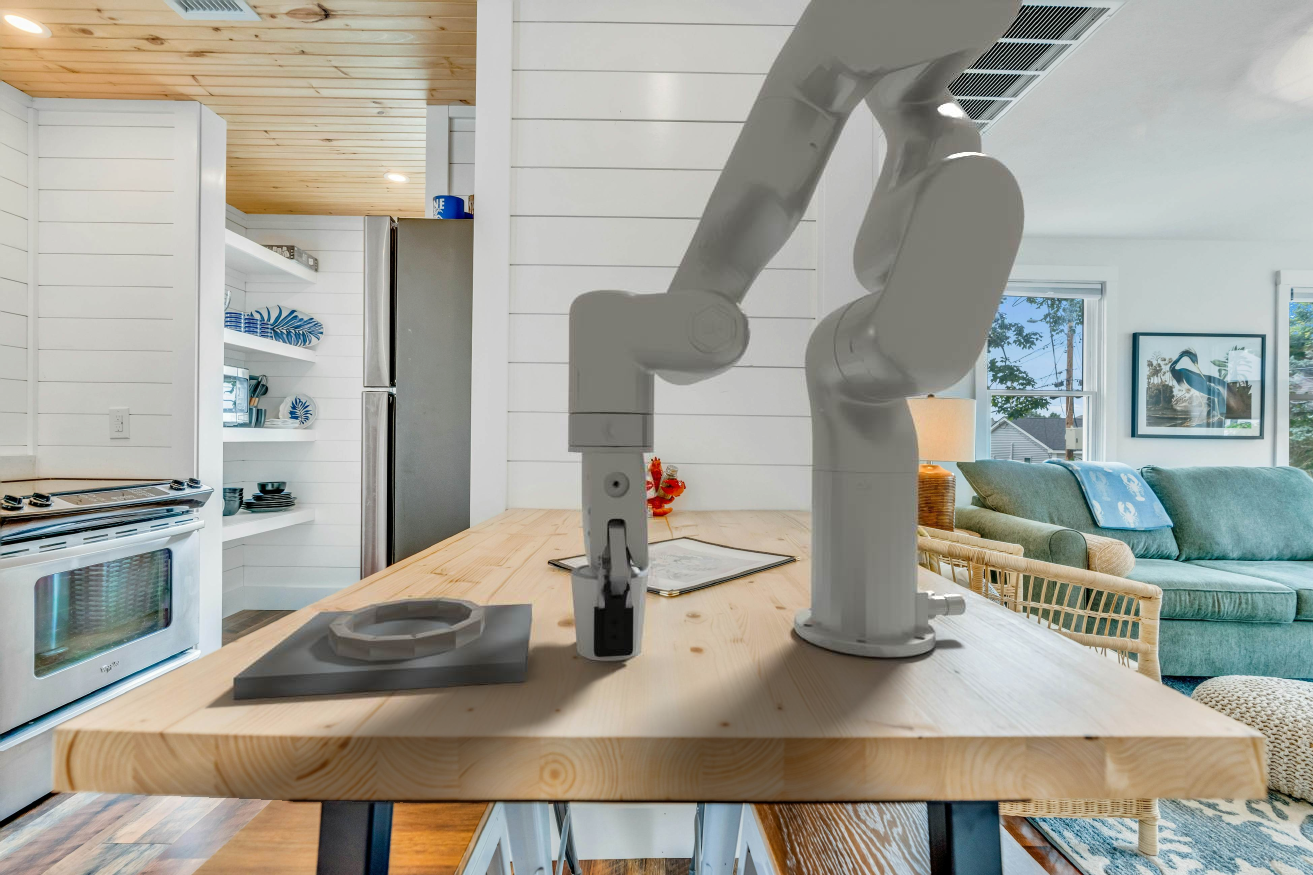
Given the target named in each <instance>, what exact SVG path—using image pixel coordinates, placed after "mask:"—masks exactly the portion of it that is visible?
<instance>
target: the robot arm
mask: <svg viewBox="0 0 1313 875" xmlns="http://www.w3.org/2000/svg"><path fill="white" fill-rule="evenodd" d="M1022 4H1023V0H810V1H809V3H808V4H807V6H806V7H805V9H804V10H803V12H802V13H801V15H800V18H799V19H798V21H797V22H796V24H795V26H794V28H793V29H792V31H791V33H790V34H789V36H788V38H787V39H786V41H785V43H784V44H783V46H782V47H781V49H780V51H779V52H778V53H777V55H776V58H775V59H774V61H773V63H772V64H771V67H770V69H769V71H768V73H767V75H766V77H765V79H764V81H763V83H762V86H761V88H760V89H759V92H758V94H757V96H756V99H755V101H754V102H753V104H752V107H751V109H750V111H749V113H748V116H747V118H746V120H745V122H744V124H743V127H742V128H741V131H740V133H739V135H738V136H737V139H736V141H735V144H734V145H733V147H732V150H731V152H730V154H729V157H728V158H727V160H726V162H725V164H724V166H723V169H722V171H721V173H720V175H719V177H718V179H717V181H716V184H715V186H714V188H713V189H712V192H711V194H710V196H709V198H708V201H707V202H706V206H705V208H704V210H703V212H702V215H701V217H700V220H699V222H698V223H697V224H698V225H697V227H696V229H695V232H694V234H693V236H692V238H691V240H690V243H689V244H688V247H687V248H686V251H685V252H684V255H683V258H682V259H681V261H680V264H679V266H678V267H677V270H676V271H675V274H674V276H673V277H672V280H671V282H670V284H669V286H668V288H667V291H665V292H657V293H656V292H655V293H645V294H644V293H643V294H642V293H641V294H640V293H637V292H633V291H628V290H620V289H602V290H601V289H599V290H591V291H587V292H584V293H581V294H579V295H578V296H576V297H575V298H574V299H573V301H572V302H571V305H570V308H569V313H568V314H569V315H568V397H567V399H568V400H567V401H568V404H567V405H568V406H567V409H568V411H567V412H568V414H567V415H568V416H567V417H568V425H567V426H568V427H567V428H568V429H567V445H568V446H567V452H568V453H576V454H577V453H578V454H579V453H581V514H582V515H581V518H582V519H581V520H582V535H583V545H584V552H585V557H586V561H587V565H589V567H590V569H592V570H593V571H594V572H596V573H597V604H598V606H597V607H594V654H595V656H597V657H610V656H628V655H631V654H632V652H633V605H632V587H631V564H634V565H635V567H637V568H638V569H639V570H640V571H645V570H646V569H648V568H649V564H650V560H649V559H650V557H649V554H650V553H649V529H648V528H649V524H648V523H649V522H648V521H649V520H648V494H647V493H648V492H647V491H648V489H647V475H646V474H647V472H646V464H645V456H644V454H652V453H654V452H655V451H654V450H655V447H654V446H655V375H657V377H659V378H660V379H662V380H663V381H665V382H666V383H669V384H671V385H676V386H690V385H693V384H697V383H699V382H702V381H706V380H710V379H712V378H715V377H718V376H719V375H722V374H724V373H726V372H728V371H729V370H730V369H732V368H733V367H734V366H736V365H737V364H738V363H739V362H740V360H741V359H742V358H743V356H744V355H745V353H746V351H747V349H748V347H749V344H750V343H749V342H750V339H751V325H750V320H749V317H748V315H747V313H746V311H745V309H744V308H743V307H742V305H741V304H742V303H743V300H744V298H745V297H746V295H747V294H748V292H749V290H750V289H751V287H752V285H753V284H754V282H755V281H756V279H758V277H759V275H760V274H761V272H762V271H763V270H764V269H765V268H766V266H767V265H768V264H769V263H770V261H771V260H773V258H774V257H775V256H776V255H777V254H778V252H780V250H781V249H782V248H783V247H784V245H786V243H787V241H788V240H789V239H790V238H791V236H792V235H793V233H794V232H795V231H796V229H797V227H798V225H799V224H800V222H802V219H803V217H804V215H805V214H806V212H807V209H808V207H809V205H810V203H811V201H812V198H813V195H814V194H815V192H816V189H817V187H818V184H819V182H820V180H821V178H822V176H823V173H824V171H825V169H826V166H827V165H828V162H829V160H830V158H831V155H832V154H833V152H834V150H835V147H836V145H837V143H838V141H839V138H840V137H841V135H842V132H843V130H844V128H845V125H846V124H847V122H848V120H849V118H850V116H851V115H852V113H853V112H854V110H855V109H856V107H857V106H859V104H860V103H861V102H862V101H863V100H864V101H865V104H866V105H867V108H868V110H870V112H871V114H872V115H873V117H874V118H875V120H876V121H877V123H878V124H879V126H880V129H881V130H882V132H883V134H884V136H885V139H886V146H887V147H886V153H885V157H884V162H883V164H882V167H881V171H880V174H879V177H878V180H877V182H876V186H875V187H874V191H873V192H872V195H871V198H870V201H869V203H868V206H867V209H866V212H865V215H864V217H863V218H862V219H863V220H862V222H861V225H860V227H859V229H858V232H857V235H856V239H855V243H854V246H853V252H852V265H853V271H854V273H855V277H856V279H857V281H858V282H859V284H860V285H861V286H862V288H863V289H864V290H866V291H867V292H869V294H867V295H864V296H861V297H859V298H857V299H855V300H853V301H850V302H848V303H845V304H843V305H842V306H839V307H838V308H836V309H834V310H833V311H831V312H830V313H829V314H828V315H826V316H825V317H824V318H822V320H820V322H819V323H818V324H817V325H816V327H815V328H814V329H813V331H812V333H811V334H810V337H809V339H808V342H807V345H806V350H805V354H804V373H805V381H806V388H807V394H808V400H809V406H810V409H809V410H810V415H811V416H810V417H811V436H812V438H811V439H812V443H811V445H812V447H811V448H812V450H811V451H812V460H811V461H812V463H811V464H812V466H811V467H812V469H811V528H810V529H811V532H810V533H811V541H810V543H811V544H810V545H811V546H810V547H811V548H810V549H811V552H810V555H811V556H810V607H808V608H804V609H802V610H800V611H799V612H797V613H796V614H795V616H794V618H793V622H794V625H793V626H794V627H793V628H794V630H795V632H796V634H797V635H799V636H800V637H801V638H802V639H804V640H805V641H807V642H809V643H811V644H814V645H816V646H818V647H821V648H824V649H827V650H829V651H830V650H831V651H835V652H838V653H843V654H849V655H855V656H861V657H872V658H904V657H905V658H907V657H913V656H917V655H922V654H924V653H927V652H929V651H931V650H932V649H933V648H934V647H935V646H936V643H937V641H936V639H937V638H936V637H937V636H936V632H937V631H936V630H935V629H934V627H933V626H932V625H931V624H929V620H930V621H931V620H934V619H935V618H936V617H937V616H939V615H940V616H945V617H946V616H947V617H949V616H962V615H964V614H965V613H966V610H967V609H966V608H967V605H966V602H965V599H964V598H963V596H962V595H960V594H958V593H956V594H954V593H953V594H939V595H935V593H934V591H932V590H927V591H926V590H924V589H922V588H919V587H918V586H919V584H918V583H919V582H918V581H919V580H918V574H919V573H918V572H919V571H918V570H919V568H918V567H919V566H918V565H919V563H918V562H919V560H918V558H919V548H918V547H919V546H918V545H919V472H920V454H919V453H920V450H919V442H918V440H919V439H918V433H917V429H916V425H915V421H914V419H913V415H912V413H911V409H910V406H909V403H908V400H907V398H914V397H921V396H927V395H932V394H936V393H939V392H942V391H945V390H947V389H950V388H951V387H953V386H955V385H956V384H958V383H959V382H960V381H962V380H963V379H964V378H965V377H966V376H967V375H969V373H970V371H971V370H972V369H973V368H974V366H975V364H976V363H977V361H978V360H979V358H980V356H981V354H982V352H983V349H984V347H985V345H986V342H987V340H988V338H989V335H990V332H991V329H992V327H993V323H994V320H995V318H996V316H997V313H998V312H997V311H998V310H999V306H1000V304H1001V301H1002V298H1003V295H1004V292H1005V289H1006V287H1007V283H1008V281H1009V278H1010V275H1011V272H1012V270H1013V266H1014V263H1015V260H1016V259H1017V254H1018V251H1019V249H1020V245H1021V242H1022V239H1023V238H1022V237H1023V233H1024V225H1025V207H1024V206H1025V205H1024V198H1023V195H1022V191H1021V188H1020V185H1019V183H1018V180H1017V179H1016V177H1015V176H1014V174H1013V172H1012V171H1011V170H1010V169H1009V168H1008V167H1007V165H1005V164H1004V163H1003V162H1002V161H1000V160H999V159H997V158H995V157H993V156H991V155H987V154H985V153H982V138H981V133H980V131H979V129H978V127H977V125H976V124H975V122H974V121H973V120H972V119H971V118H970V116H969V115H968V113H967V112H966V110H965V109H964V108H963V107H962V106H961V104H960V102H959V101H958V100H957V99H956V97H955V96H954V95H953V94H952V92H951V91H950V90H949V88H948V87H949V85H951V84H952V83H953V82H954V81H955V80H956V79H957V78H958V77H960V76H961V75H962V73H964V72H965V71H966V70H967V69H968V68H970V67H971V66H972V65H973V64H974V63H975V62H976V61H977V60H979V59H980V58H981V57H982V56H983V55H984V54H986V52H988V51H989V50H990V49H991V48H992V47H993V46H994V45H995V44H996V43H997V42H999V40H1001V38H1002V37H1003V36H1004V35H1005V34H1006V33H1007V32H1008V30H1009V29H1010V28H1011V26H1012V25H1013V23H1014V21H1015V20H1016V18H1017V17H1018V15H1019V12H1020V10H1021V7H1022ZM631 562H632V563H631ZM602 564H610V568H608V569H602ZM604 577H610V580H606V583H605V584H604Z"/></svg>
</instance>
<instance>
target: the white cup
mask: <svg viewBox="0 0 1313 875" xmlns="http://www.w3.org/2000/svg"><path fill="white" fill-rule="evenodd" d="M608 568H610V564H602V569H608ZM649 572H650V571H649V568H647V569H646V570H645V571H640V570H639V569H638V568H637V567H635V565H634V564H633V563H631V587H632V605H633V652H632V654H631V655H628V656H610V657H597V656H595V654H594V607H597V606H598V604H597V573H596V572H594V571H593V570H592V569H590V567H589V565H588V564H584V565H579V566H577V567H574V568H572V569H571V571H570V580H571V591H572V592H571V593H572V594H571V595H572V603H573V606H572V607H573V617H574V629H575V638H576V640H575V642H576V652H577V653H578V654H579V655H580V656H581V657H584V658H586V659H588V660H593V661H600V662H615V661H623V660H628V659H630V658H633V657H636V656H638V654H640V653H641V652H642V644H643V643H642V641H643V633H644V632H643V631H644V623H645V622H644V620H645V613H646V612H645V611H646V602H647V590H648V582H649V581H648V580H649ZM606 580H610V577H604V584H605V583H606Z"/></svg>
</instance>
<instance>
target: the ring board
mask: <svg viewBox="0 0 1313 875" xmlns="http://www.w3.org/2000/svg"><path fill="white" fill-rule="evenodd" d="M532 614H533V603H516V604H493V605H492V604H490V605H488V604H487V605H486V604H485V605H480V604H477V603H476V602H473V601H472V600H466V599H459V598H450V597H443V596H441V597H420V598H419V597H418V598H416V597H414V598H411V597H410V598H403V599H397V600H391V601H386V602H385V601H384V602H379V603H372V604H369V605H366V606H363V607H359V608H356V609H354V610H339V611H337V610H336V611H320V612H319V613H318V614H315V615H314V616H313V617H312V618H311V619H309V620H308V621H307V622H305V623H304V624H303V625H301V626H300V627H299V628H297V629H296V630H295V631H293V632H292V633H291V634H290V635H288V636H287V637H286V638H284V639H283V640H282V641H280V642H279V643H277V645H275V646H274V647H272V648H271V649H270V650H268V651H267V652H266V653H264V654H263V655H262V656H261V657H259V658H258V659H256V660H255V661H253V662H252V663H251V664H250V665H248V666H247V667H246V668H244V670H242V671H241V672H239V673H238V674H237V675H235V676H234V677H233V684H232V686H233V689H232V691H233V693H232V697H233V698H232V699H233V700H246V699H260V698H278V697H280V698H281V697H293V696H294V697H295V696H296V697H297V696H309V695H311V696H312V695H325V694H328V695H329V694H343V693H361V692H363V693H364V692H375V691H376V692H377V691H392V690H410V689H424V688H426V689H427V688H440V687H456V686H460V687H461V686H474V685H475V686H476V685H489V684H507V683H509V684H510V683H523V682H526V676H527V665H528V658H529V649H530V639H531V629H532V621H533V615H532Z"/></svg>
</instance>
